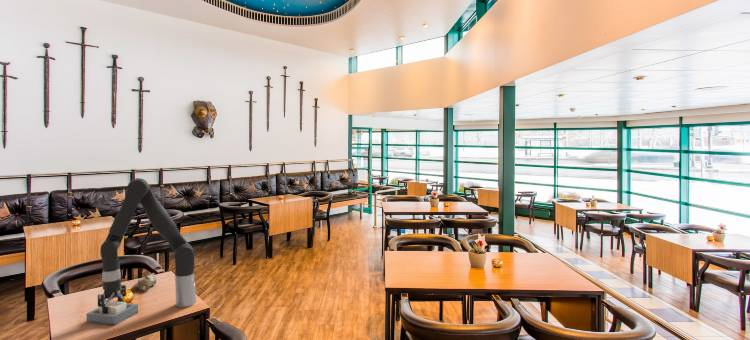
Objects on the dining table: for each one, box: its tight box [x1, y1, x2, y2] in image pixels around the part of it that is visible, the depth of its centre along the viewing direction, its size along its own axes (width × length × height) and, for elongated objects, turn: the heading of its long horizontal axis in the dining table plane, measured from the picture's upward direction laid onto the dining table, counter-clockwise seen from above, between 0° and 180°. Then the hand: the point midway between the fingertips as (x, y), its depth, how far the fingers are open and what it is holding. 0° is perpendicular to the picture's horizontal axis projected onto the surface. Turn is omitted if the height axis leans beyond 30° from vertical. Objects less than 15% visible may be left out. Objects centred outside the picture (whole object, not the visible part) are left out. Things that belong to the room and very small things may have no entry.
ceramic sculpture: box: [130, 272, 157, 292], centre depth 223 cm, size 11×9×15 cm
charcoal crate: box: [85, 302, 139, 326], centre depth 186 cm, size 14×16×4 cm
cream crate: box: [98, 300, 127, 315], centre depth 186 cm, size 6×10×6 cm, turn 80°
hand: (112, 309), depth 186 cm, fingers open, 8 cm apart
